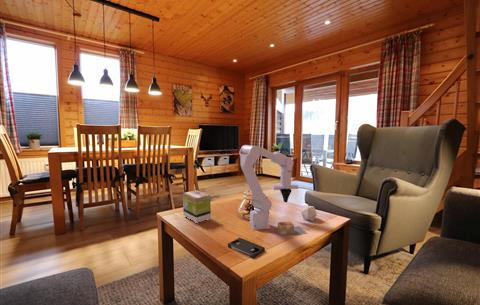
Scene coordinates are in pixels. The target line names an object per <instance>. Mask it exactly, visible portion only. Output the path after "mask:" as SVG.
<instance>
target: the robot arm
mask: <svg viewBox="0 0 480 305" xmlns="http://www.w3.org/2000/svg"><path fill="white" fill-rule="evenodd" d="M239 157H240V168H241V170H242V173H243V175H244V178H245V181H246V182H247V183H246V184H247V185H248V187H249V191H250V192H251V194H252V195H251V197H250V198H251V205H252V206H253V209H254V210H250V212H249V225H250V228H252V230H253V231H256V230H265V229H267V230H268V229H272V227H271V226H270V225H269V212H270V210H271V208H272V203H273V202H272V201H271V199H269V198H268V196H267V195H266V193H264V192H263V189H262V187H261V184H260V182H259V178H258V176H257V174H256V171H255V169H254V166H253V165H254V164H255V163H257V160H258V159H259V158H260V157H265V158H267V159H269V160H270V161H271V162H272V163H274V164H277V165H279V167H280V184H278V185H272V191H280V194H281V195H282V199H283V202H284V203H288V200H289V198H290V196H291V193H292V190H298V189H299V185H298V184H292V170H293V166H294V160H293V159H292V157H290V156H286V154H281V153H280V152H279V151H273V152H271V151H270V150H267V149H266V148H264V147H261V146H257V145H249V144H244V145H242V146H241V148H240V149H239Z"/></svg>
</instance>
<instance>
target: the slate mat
mask: <svg viewBox="0 0 480 305" xmlns="http://www.w3.org/2000/svg"><path fill="white" fill-rule="evenodd" d="M277 228H278V227H277ZM277 228H273V230H274V231H275V233H277V235H279V237H281V238H282V237H290V236H298V235H307V234H308V232H306V231H305V230H304V229H303V228H302V227H301V226H294V233H286V234H280V233H279V232H278V231H277Z"/></svg>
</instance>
